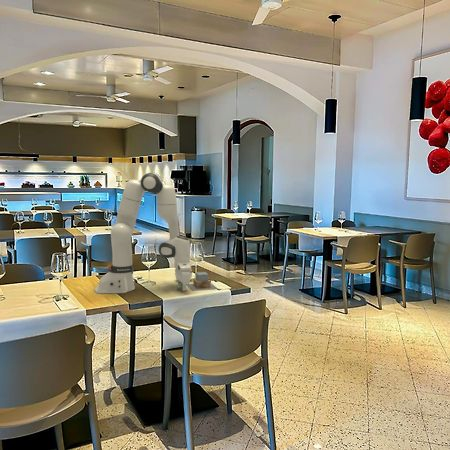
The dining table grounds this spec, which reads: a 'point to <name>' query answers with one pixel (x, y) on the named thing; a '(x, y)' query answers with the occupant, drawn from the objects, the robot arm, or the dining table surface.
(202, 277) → the tower top
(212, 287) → the mat
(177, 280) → the lidded jar
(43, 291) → the dining table surface
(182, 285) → the olive green cylinder
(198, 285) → the block
